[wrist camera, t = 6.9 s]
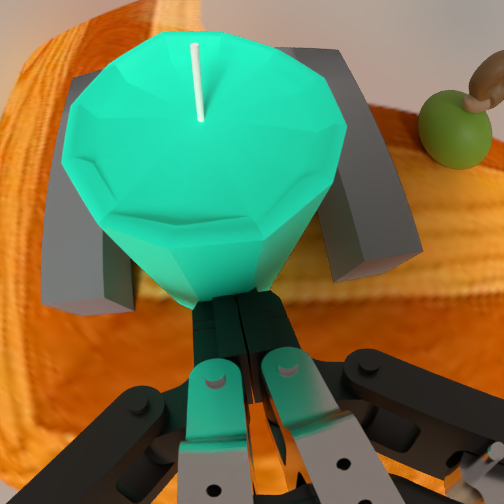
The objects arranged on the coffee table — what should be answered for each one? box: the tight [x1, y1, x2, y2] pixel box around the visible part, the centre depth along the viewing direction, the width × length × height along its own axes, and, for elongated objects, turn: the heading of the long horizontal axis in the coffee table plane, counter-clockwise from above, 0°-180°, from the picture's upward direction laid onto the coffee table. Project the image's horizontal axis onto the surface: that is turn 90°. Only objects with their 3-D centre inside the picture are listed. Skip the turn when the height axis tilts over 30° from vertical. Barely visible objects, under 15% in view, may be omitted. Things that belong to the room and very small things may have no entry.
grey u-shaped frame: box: [41, 47, 423, 316], centre depth 15 cm, size 16×13×4 cm
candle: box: [61, 31, 347, 310], centre depth 10 cm, size 6×6×12 cm
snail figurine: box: [418, 50, 504, 170], centre depth 13 cm, size 5×6×12 cm
